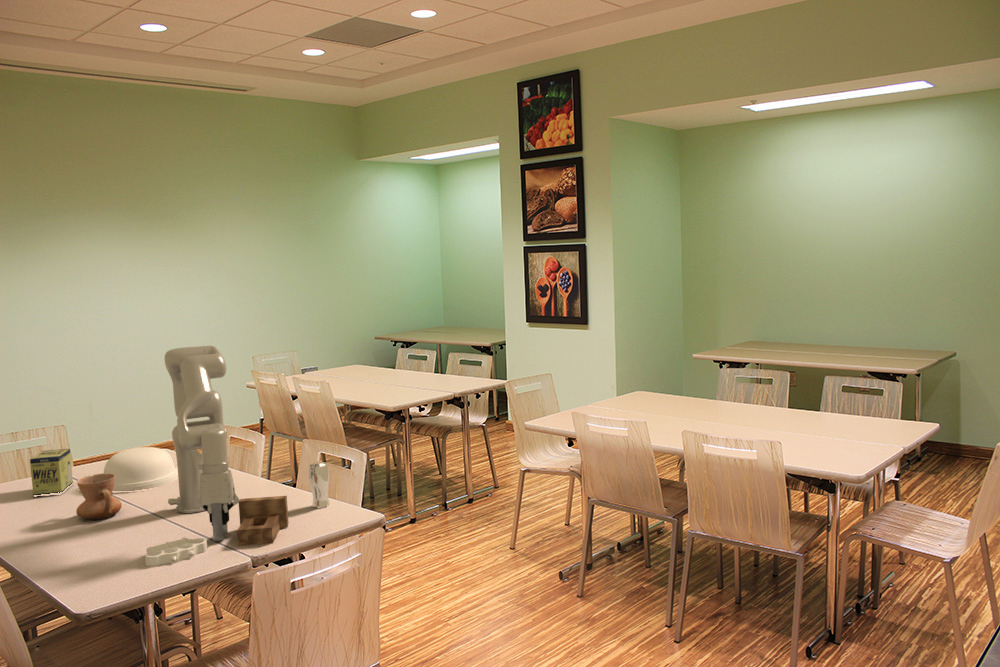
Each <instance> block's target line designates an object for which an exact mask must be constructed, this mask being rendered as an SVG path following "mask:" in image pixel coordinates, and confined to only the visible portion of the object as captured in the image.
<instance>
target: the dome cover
mask: <svg viewBox="0 0 1000 667" xmlns="http://www.w3.org/2000/svg"><path fill="white" fill-rule="evenodd" d="M103 473H110V474H114V475H115V484H114V488H113V491H135V490H142V489H149V488H154V487H158V486H162V485H166V484H169V483H171V482H173V481H175V480H177V479H178V468H177V465H176V466H175V464H174V461H173V458H172V456H171V455H170V453H169V452H167V451H166V450H164V449H162V448H159V447H154V446H153V447H151V446H148V447H147V446H145V447H144V446H141V447H135V448H129V449H125V450H122V451H120V452H116V453H115V454H114V455H112V456H110V458H109V459H108V460H107V462H106V463H105V465H104V469H103ZM177 481H178V480H177Z"/></svg>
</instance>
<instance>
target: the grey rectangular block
mask: <svg viewBox="0 0 1000 667" xmlns="http://www.w3.org/2000/svg"><path fill="white" fill-rule="evenodd" d="M211 511H212V523H211V526H212V525H213V526H212V536H213V541H216V542H217V541H224V540H225V539H226V538H227V535H228V533H229V532H228V523H227V524H226V525H224V523H223V512H224V507H223V504H221V503H212V504H211Z"/></svg>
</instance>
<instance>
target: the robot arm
mask: <svg viewBox="0 0 1000 667" xmlns="http://www.w3.org/2000/svg"><path fill="white" fill-rule="evenodd" d="M164 365H165V369H166V370H167V373H168V374H169V376H170V379H171V383H172V388H173V389H172V390H173V392H172V393H173V402H174V403H173V405H174V412H175V416H176V417H177V419H176V422H177V423H176V426H175V427H173V429H172V431H171V435H172V442H173V446H174V451H175V456H176V466H177V468H178V480H177V481H178V490H179V492H178V493H179V497H177V498H174V497H173V498H172V497H171V498H168V500H167V502H168V505H170V506H175V505H176V508H175V511H176V512H177V513H180V514H193V513H194V514H195V513H200V512H204V511H206V512H207V514H208V515H209V523H211V526H212V527H213V525H212V511H211V504H212V503H221V504H223V507H224V512H223V523H224V525H226V524H227V525H228V523H229V522H230V510H231V509H232V508H233V507H235V506H236V505H237V504H238V505H239V502H240V498H239V497H238V495H237V494H236V489H235V483H234V477H233V474H232V470H231V469H229V459H228V458H229V456H228V443H227V441H228V440H227V439H228V432H227V428H226V427H225V426H224V413H223V402H222V398H221V395H220V393H219V392H218V391H217V390H215V389H213V387H212V382H211V380H212V379H222V378H224V377H225V375H226V373H227V364H226V360H225V358H224V356H223V354H222V353H221V352H220V350H219V349H218V348H217V347H216V346H214V345H201V346H188V347H187V346H186V347H177V348H173V349H169V350H167V351H166V353H165V354H164ZM207 417H208V418H209V419H204V420H195V421H187V420H193V419H199V418H207ZM199 450H201V452H200V451H199Z"/></svg>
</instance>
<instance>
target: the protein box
mask: <svg viewBox="0 0 1000 667" xmlns="http://www.w3.org/2000/svg"><path fill="white" fill-rule="evenodd" d="M71 456H72V455H71V449H70V448H62V449H51V450H50V449H49V450H42V451H40V452H39V453H37V454H36V455H34V456H33V457H31V458H30V459H29V463H30V475H31V485H32V486H31V487H32V495H41V494H50V493H58V492H59V493H60V492H63V491H64V490H65V489H66V488H67V487H68V486H70V485H71V484H72V483H73V484H74V480H73V469H72V457H71Z"/></svg>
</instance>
